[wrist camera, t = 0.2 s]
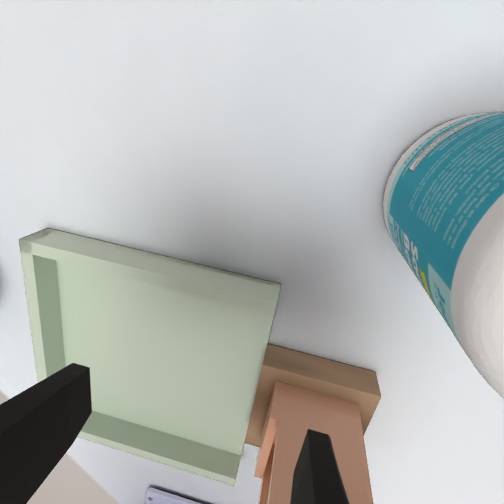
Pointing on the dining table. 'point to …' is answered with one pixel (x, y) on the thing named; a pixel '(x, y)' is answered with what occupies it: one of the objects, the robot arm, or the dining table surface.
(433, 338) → the dining table surface
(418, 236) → the pill bottle
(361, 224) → the dining table surface
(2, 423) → the robot arm
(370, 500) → the brown u-shaped block
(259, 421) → the coaster
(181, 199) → the dining table surface
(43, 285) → the tray
